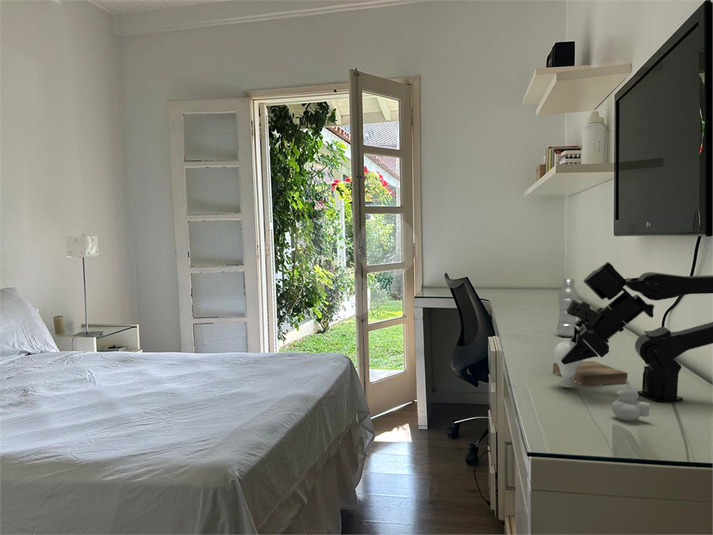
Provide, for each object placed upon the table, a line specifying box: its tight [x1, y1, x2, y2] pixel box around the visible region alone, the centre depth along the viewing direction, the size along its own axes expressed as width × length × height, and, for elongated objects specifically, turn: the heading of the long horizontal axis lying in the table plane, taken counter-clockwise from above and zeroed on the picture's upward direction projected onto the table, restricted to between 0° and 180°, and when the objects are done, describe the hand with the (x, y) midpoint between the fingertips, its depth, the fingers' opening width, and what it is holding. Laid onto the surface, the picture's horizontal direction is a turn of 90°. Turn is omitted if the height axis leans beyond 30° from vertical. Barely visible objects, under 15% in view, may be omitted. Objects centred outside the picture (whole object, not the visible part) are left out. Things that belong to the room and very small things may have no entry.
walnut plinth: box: [552, 360, 628, 386], centre depth 132 cm, size 12×12×2 cm
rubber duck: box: [611, 378, 651, 422], centre depth 102 cm, size 5×7×8 cm
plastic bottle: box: [556, 278, 579, 338], centre depth 185 cm, size 6×7×20 cm
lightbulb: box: [553, 340, 584, 389], centre depth 122 cm, size 6×6×11 cm
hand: (561, 359), depth 123 cm, fingers closed on lightbulb, 6 cm apart
